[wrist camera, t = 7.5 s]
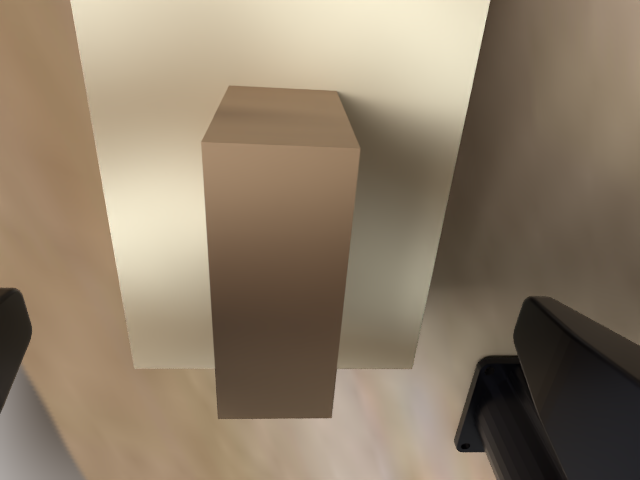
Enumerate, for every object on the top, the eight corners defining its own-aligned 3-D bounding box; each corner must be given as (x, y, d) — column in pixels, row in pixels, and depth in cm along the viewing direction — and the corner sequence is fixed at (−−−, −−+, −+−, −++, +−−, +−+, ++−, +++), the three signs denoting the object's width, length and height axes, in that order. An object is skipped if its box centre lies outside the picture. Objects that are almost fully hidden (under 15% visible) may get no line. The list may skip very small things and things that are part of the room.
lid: (399, 328, 17) (449, 487, 12) (149, 326, 16) (86, 494, 11) (535, -409, 9) (911, -979, 3) (35, -480, 8) (-449, -1346, 3)
